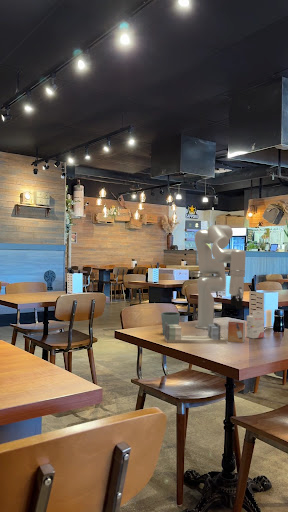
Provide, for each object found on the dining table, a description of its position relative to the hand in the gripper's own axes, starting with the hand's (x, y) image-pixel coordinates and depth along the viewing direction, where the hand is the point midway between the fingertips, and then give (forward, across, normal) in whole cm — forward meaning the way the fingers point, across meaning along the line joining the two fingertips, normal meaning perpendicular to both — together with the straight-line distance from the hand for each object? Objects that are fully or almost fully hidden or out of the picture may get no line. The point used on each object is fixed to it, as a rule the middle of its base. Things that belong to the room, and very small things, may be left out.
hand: (236, 306), depth 220 cm
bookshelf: (+18, +2, -22) cm, 28 cm away
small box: (+18, +1, 0) cm, 18 cm away
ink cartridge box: (+18, -9, +14) cm, 25 cm away
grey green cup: (+18, -15, -32) cm, 40 cm away
